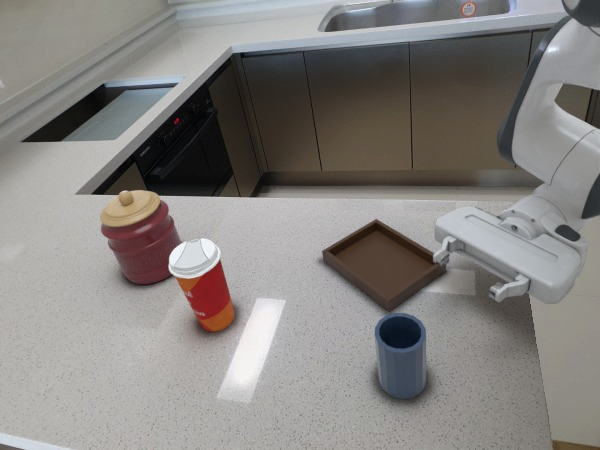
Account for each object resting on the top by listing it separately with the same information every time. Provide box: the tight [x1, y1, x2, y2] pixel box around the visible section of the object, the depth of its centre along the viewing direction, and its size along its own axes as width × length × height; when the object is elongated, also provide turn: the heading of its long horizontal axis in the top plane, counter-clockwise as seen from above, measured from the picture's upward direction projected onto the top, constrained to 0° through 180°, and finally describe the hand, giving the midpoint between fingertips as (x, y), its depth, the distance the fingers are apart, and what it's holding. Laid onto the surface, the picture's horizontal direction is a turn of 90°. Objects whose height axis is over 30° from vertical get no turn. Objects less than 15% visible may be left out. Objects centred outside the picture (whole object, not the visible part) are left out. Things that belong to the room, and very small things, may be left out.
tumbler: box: [374, 312, 427, 400], centre depth 62 cm, size 6×6×10 cm
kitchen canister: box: [99, 189, 184, 285], centre depth 89 cm, size 13×13×18 cm
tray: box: [321, 218, 448, 313], centre depth 83 cm, size 18×14×2 cm
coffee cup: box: [169, 237, 235, 333], centre depth 75 cm, size 8×8×15 cm
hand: (463, 277), depth 63 cm, fingers open, 8 cm apart
